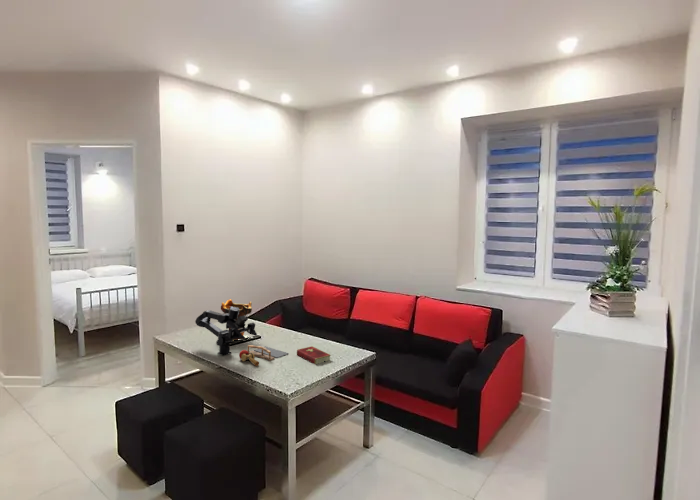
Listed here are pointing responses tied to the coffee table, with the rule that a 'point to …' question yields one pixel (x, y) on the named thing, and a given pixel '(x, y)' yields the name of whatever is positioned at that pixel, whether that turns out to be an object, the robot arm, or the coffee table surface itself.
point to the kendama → (248, 357)
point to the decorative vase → (243, 310)
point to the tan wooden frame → (261, 353)
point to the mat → (272, 352)
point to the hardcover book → (313, 355)
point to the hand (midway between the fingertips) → (250, 336)
